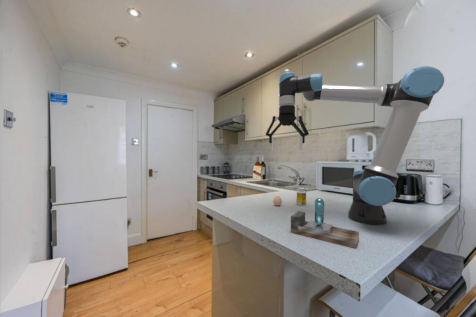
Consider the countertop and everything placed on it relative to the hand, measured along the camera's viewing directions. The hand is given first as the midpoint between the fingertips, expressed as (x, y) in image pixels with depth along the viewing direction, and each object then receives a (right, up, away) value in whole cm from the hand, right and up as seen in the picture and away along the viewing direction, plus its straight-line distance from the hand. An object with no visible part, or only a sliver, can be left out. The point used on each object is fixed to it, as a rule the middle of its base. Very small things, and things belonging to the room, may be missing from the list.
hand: (286, 150), depth 94 cm
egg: (0, -33, +22) cm, 40 cm away
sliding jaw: (+7, -31, -21) cm, 38 cm away
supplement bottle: (+16, -33, +26) cm, 45 cm away
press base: (+8, -33, -22) cm, 40 cm away
